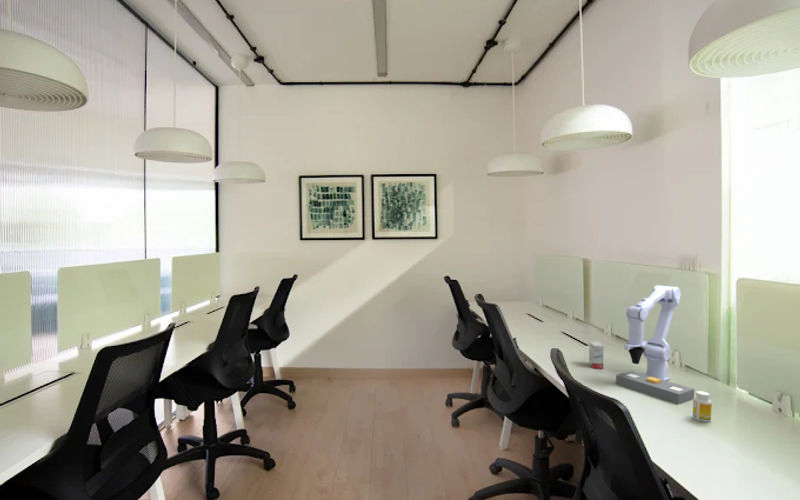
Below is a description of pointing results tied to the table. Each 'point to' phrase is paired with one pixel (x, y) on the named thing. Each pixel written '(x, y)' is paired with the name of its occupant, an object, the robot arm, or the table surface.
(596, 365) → the ink box
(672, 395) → the panel
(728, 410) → the table surface
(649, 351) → the robot arm
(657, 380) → the amber button
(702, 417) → the supplement bottle
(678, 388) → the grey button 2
